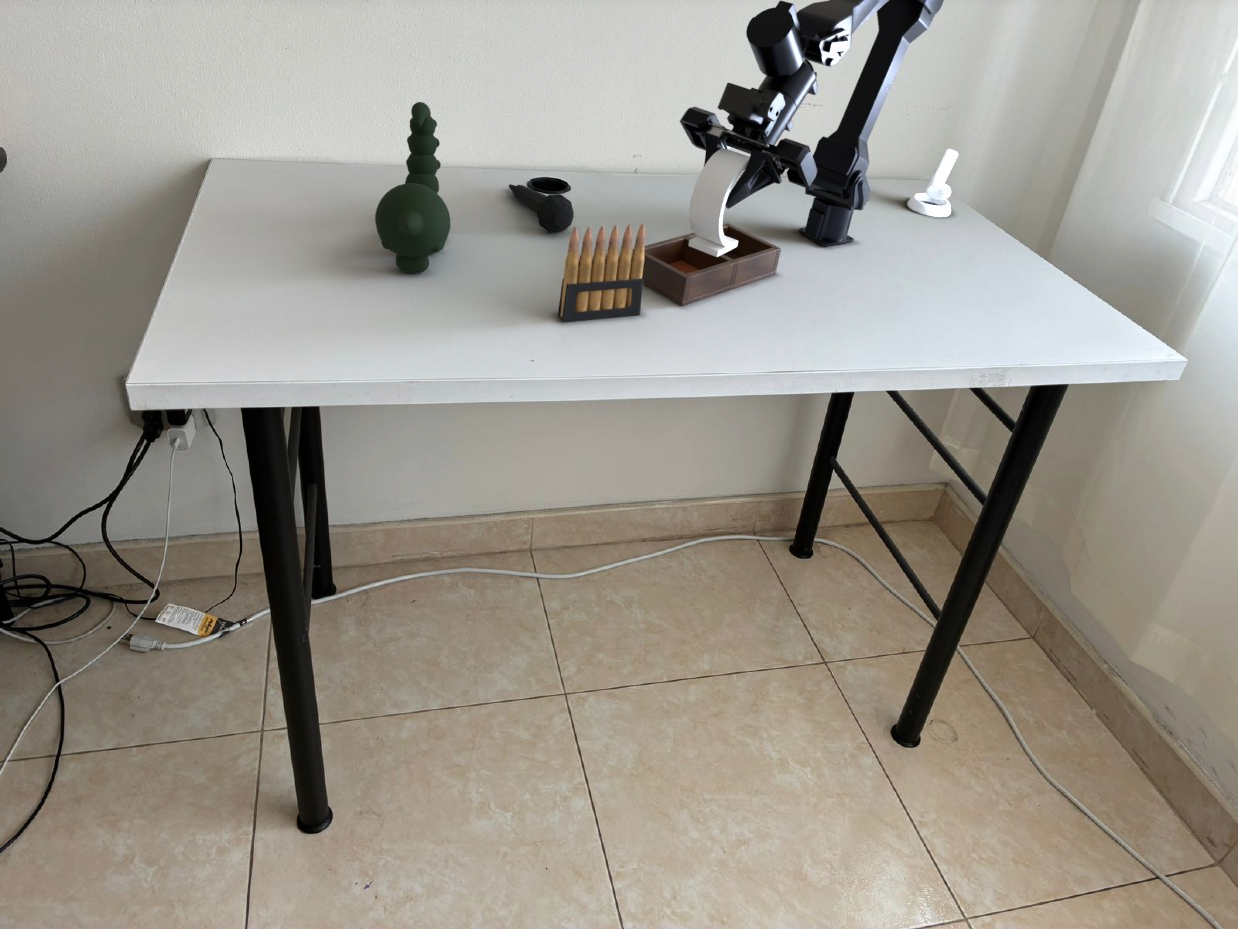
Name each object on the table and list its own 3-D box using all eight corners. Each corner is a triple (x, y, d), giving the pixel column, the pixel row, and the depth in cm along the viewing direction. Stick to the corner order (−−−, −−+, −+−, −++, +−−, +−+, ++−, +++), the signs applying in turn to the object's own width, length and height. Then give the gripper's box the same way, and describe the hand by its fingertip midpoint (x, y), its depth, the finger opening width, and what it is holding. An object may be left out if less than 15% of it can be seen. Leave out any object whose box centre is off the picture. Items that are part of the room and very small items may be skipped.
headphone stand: (737, 246, 126) (753, 157, 119) (712, 259, 122) (727, 168, 115) (709, 235, 128) (723, 147, 121) (683, 247, 124) (696, 157, 117)
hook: (965, 171, 170) (978, 160, 163) (937, 232, 171) (949, 223, 164) (927, 154, 171) (939, 142, 164) (899, 215, 171) (909, 206, 164)
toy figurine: (391, 227, 139) (369, 288, 118) (388, 91, 129) (364, 131, 108) (456, 232, 140) (446, 293, 119) (458, 97, 130) (447, 138, 109)
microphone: (500, 209, 153) (552, 244, 138) (489, 175, 149) (541, 207, 134) (530, 196, 154) (584, 229, 139) (520, 162, 151) (574, 192, 136)
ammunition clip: (562, 322, 118) (570, 230, 111) (557, 315, 119) (565, 224, 112) (640, 314, 122) (652, 226, 115) (634, 308, 123) (646, 220, 116)
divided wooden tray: (723, 248, 142) (728, 222, 140) (775, 274, 137) (781, 248, 134) (628, 276, 131) (632, 248, 128) (681, 306, 125) (686, 278, 123)
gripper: (699, 39, 118) (633, 143, 118) (827, 78, 110) (756, 190, 109) (725, 95, 128) (664, 191, 128) (844, 134, 119) (779, 238, 119)
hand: (712, 201), depth 120 cm, fingers closed on headphone stand, 4 cm apart
